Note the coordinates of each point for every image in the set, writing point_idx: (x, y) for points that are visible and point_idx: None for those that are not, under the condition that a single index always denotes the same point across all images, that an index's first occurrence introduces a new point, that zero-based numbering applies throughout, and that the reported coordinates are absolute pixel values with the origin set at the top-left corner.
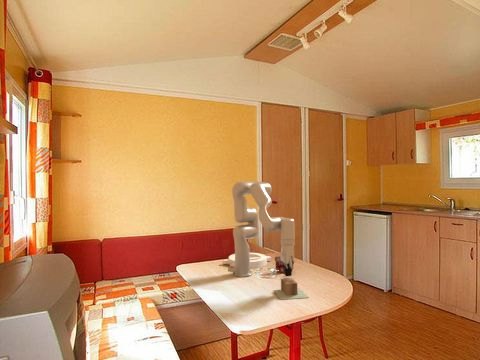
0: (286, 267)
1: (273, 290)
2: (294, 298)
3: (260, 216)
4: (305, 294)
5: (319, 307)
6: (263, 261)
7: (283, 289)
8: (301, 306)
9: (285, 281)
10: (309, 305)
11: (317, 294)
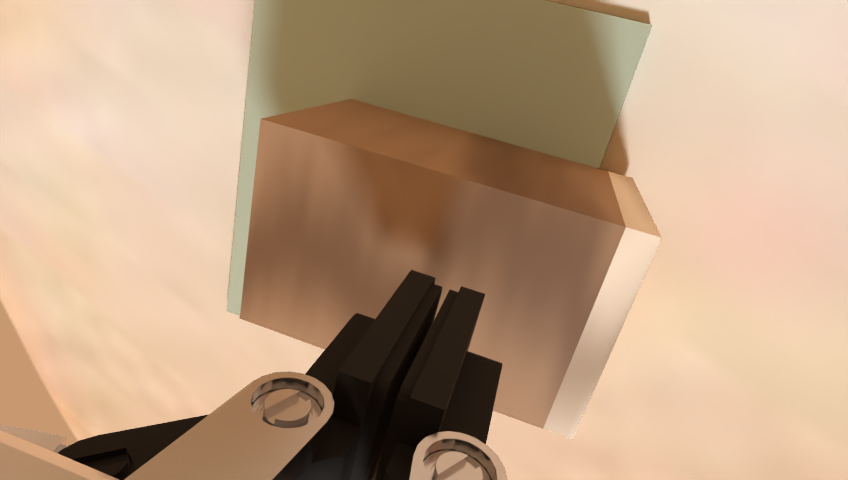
0: (280, 416)
1: (650, 25)
2: (243, 146)
3: None
4: None
5: (16, 239)
6: None
7: (480, 143)
8: (51, 91)
9: (397, 191)
10: (63, 185)
11: None
